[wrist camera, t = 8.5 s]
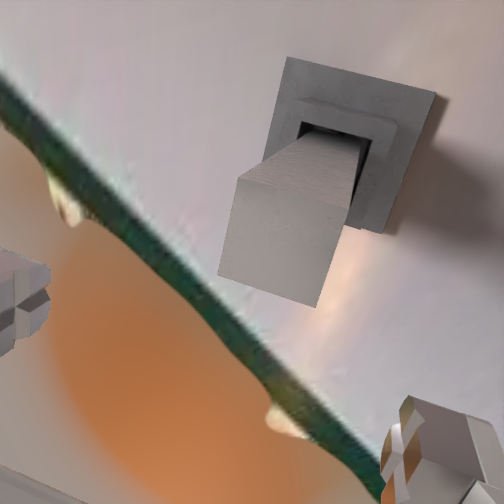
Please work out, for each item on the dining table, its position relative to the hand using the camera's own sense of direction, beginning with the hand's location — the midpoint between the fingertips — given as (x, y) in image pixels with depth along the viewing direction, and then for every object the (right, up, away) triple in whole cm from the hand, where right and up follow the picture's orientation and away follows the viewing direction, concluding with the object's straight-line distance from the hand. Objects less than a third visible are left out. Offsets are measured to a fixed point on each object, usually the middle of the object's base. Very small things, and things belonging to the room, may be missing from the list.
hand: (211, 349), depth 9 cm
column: (+8, +10, +26) cm, 29 cm away
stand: (+10, +13, +33) cm, 37 cm away
